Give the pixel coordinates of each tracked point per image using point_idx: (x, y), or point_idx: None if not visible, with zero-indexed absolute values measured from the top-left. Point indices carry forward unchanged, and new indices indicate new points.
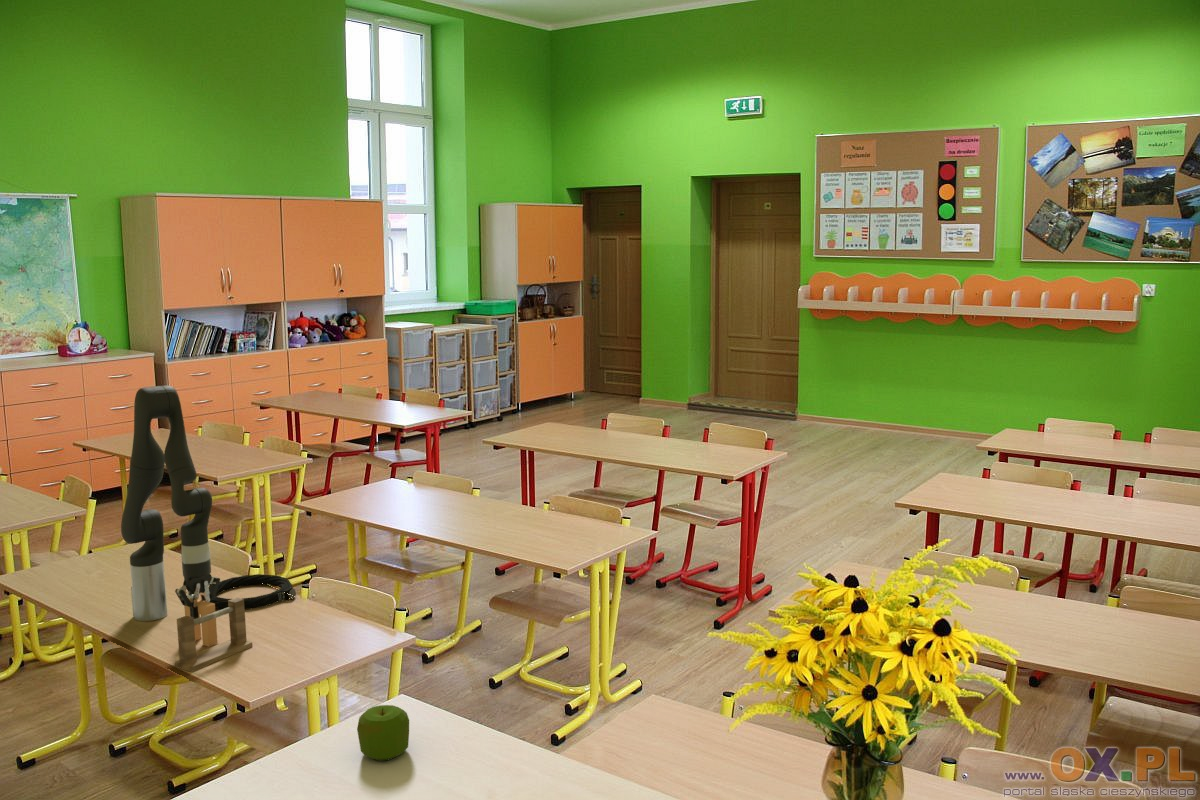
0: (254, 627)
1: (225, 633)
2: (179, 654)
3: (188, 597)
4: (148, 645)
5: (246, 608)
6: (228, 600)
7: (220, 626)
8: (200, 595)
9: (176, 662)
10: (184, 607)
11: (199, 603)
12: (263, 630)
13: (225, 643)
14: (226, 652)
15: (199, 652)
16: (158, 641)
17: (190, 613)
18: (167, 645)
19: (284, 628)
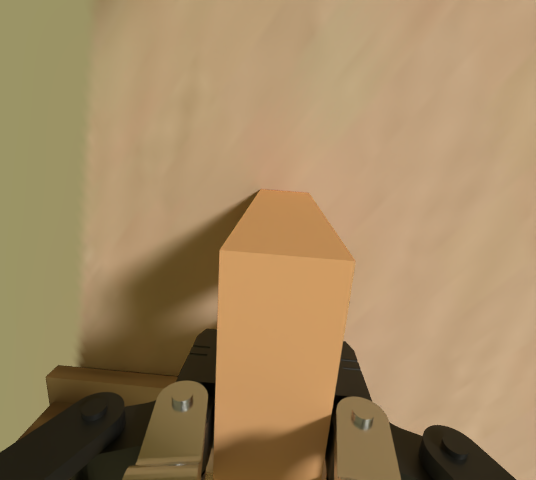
0: (504, 350)
1: (397, 290)
2: (24, 434)
3: (133, 473)
4: (115, 66)
5: None
6: None
7: (468, 198)
8: (334, 475)
9: (48, 386)
10: (234, 228)
11: (240, 472)
12: (483, 404)
13: None
14: (211, 471)
15: (157, 391)
16: (176, 67)
17: (192, 351)
18: (167, 161)
19: (528, 457)
